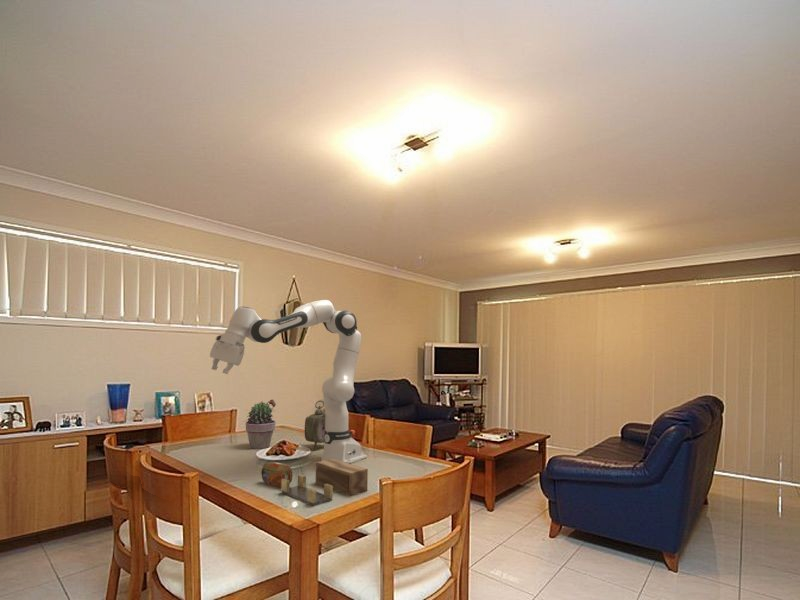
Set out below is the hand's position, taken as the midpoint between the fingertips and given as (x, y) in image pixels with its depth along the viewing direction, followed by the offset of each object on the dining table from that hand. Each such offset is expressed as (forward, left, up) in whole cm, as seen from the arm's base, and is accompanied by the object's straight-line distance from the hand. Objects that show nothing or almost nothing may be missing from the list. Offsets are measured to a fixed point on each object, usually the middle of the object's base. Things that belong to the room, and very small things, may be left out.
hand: (219, 371), depth 191 cm
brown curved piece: (-13, +28, -44) cm, 53 cm away
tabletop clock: (-63, -13, -44) cm, 77 cm away
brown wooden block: (-29, +48, -43) cm, 71 cm away
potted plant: (-41, -37, -44) cm, 70 cm away
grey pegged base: (-13, +48, -43) cm, 66 cm away
